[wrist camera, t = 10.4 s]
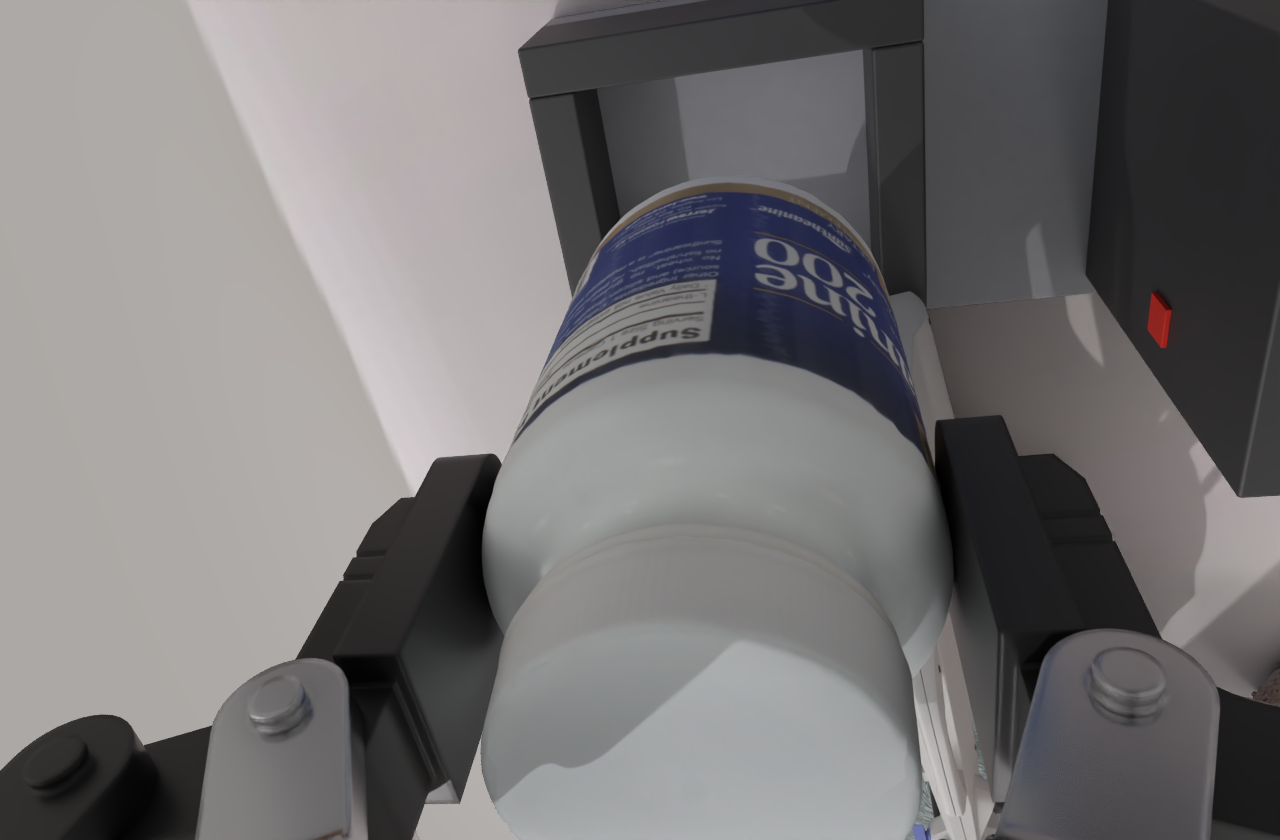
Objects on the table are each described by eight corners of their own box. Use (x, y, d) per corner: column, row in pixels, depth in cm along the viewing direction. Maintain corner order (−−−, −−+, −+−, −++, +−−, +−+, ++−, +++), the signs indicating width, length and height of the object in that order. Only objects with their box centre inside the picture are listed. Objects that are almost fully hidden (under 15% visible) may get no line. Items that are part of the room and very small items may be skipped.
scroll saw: (550, 561, 17) (1268, 427, 14) (625, 305, 26) (1074, 189, 23) (809, 1100, 26) (1269, 1089, 23) (799, 778, 35) (1132, 740, 32)
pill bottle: (943, 362, 17) (1113, 882, 8) (687, 487, 19) (626, 1004, 11) (786, 98, 15) (813, 446, 6) (518, 270, 17) (279, 702, 8)
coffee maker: (550, 19, 22) (417, 141, 14) (1253, -96, 20) (1618, -30, 11) (611, 324, 26) (537, 561, 18) (1200, 265, 24) (1437, 513, 15)
